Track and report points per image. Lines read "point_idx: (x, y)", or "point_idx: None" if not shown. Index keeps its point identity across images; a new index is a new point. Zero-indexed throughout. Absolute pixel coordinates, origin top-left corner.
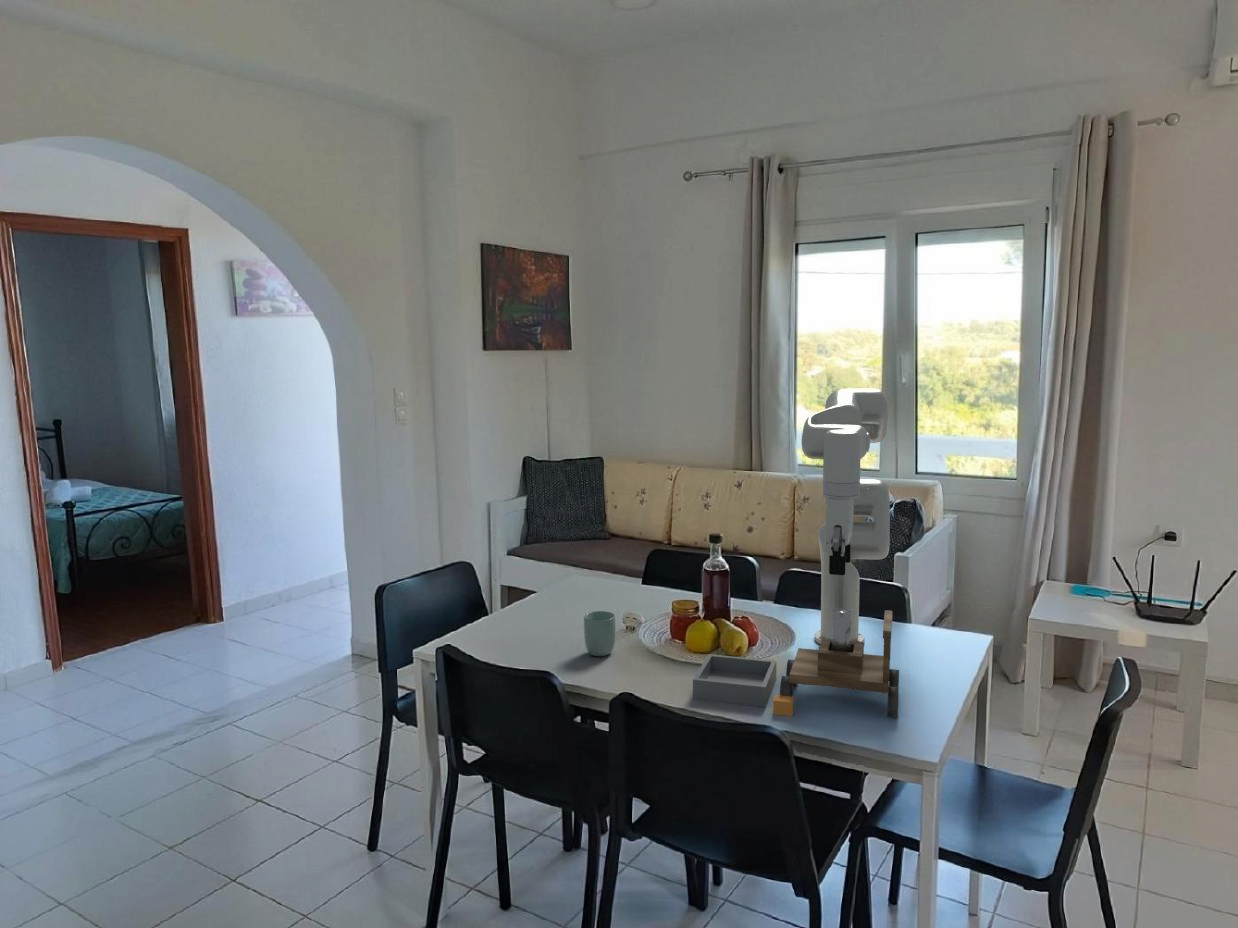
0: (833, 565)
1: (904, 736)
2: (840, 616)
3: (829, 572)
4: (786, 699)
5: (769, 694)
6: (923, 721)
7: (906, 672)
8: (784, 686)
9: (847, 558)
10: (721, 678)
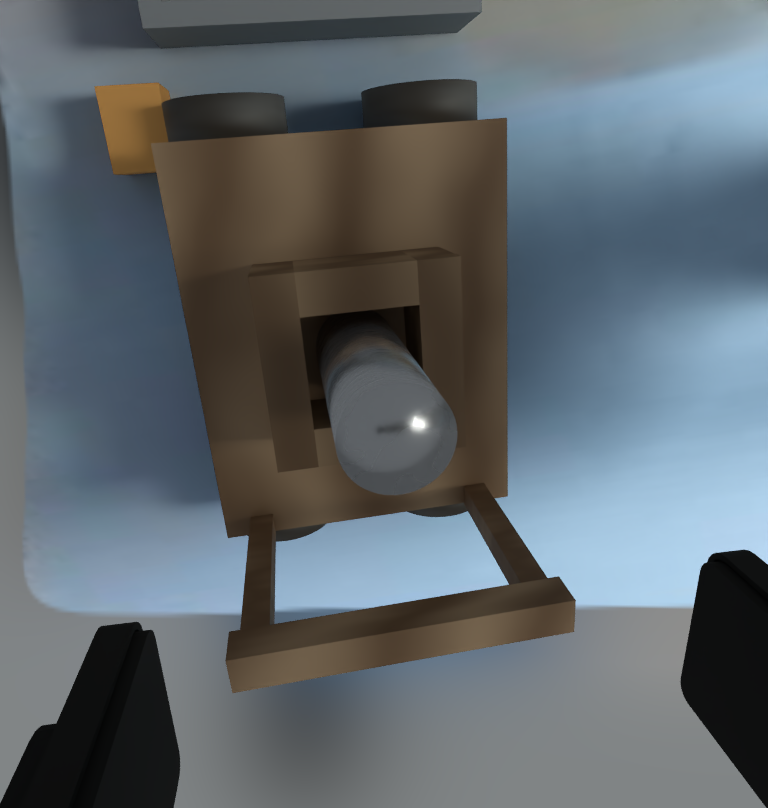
0: (3, 804)
1: (149, 529)
2: (334, 438)
3: (99, 635)
4: (133, 143)
5: (264, 40)
6: (277, 556)
7: (625, 463)
8: (173, 120)
9: (712, 713)
10: None
